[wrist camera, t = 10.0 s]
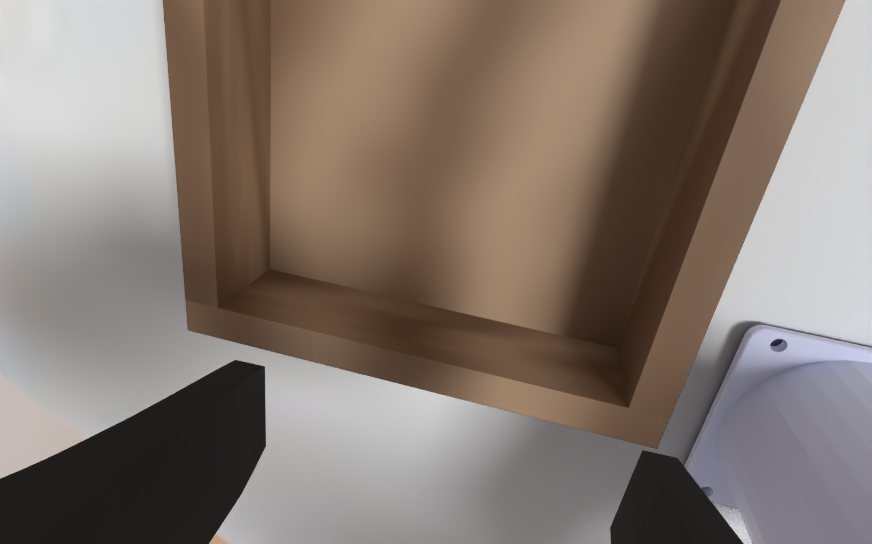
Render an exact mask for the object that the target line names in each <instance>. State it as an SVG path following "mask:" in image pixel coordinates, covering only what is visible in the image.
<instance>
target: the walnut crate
mask: <svg viewBox="0 0 872 544" xmlns="http://www.w3.org/2000/svg"><path fill="white" fill-rule="evenodd" d="M844 3H845V0H163V8H164V22H165V35H166V48H167V61H168V74H169V88H170V101H171V114H172V127H173V140H174V154H175V167H176V180H177V193H178V206H179V219H180V233H181V246H182V259H183V272H184V285H185V299H186V312H187V325H188V330H189V331H193V332H197V333H201V334H205V335H209V336H213V337H217V338H221V339H225V340H229V341H233V342H236V343H240V344H244V345H248V346H252V347H256V348H260V349H264V350H268V351H272V352H276V353H280V354H284V355H288V356H292V357H296V358H300V359H304V360H308V361H312V362H316V363H320V364H324V365H327V366H331V367H335V368H339V369H343V370H347V371H351V372H355V373H359V374H363V375H367V376H371V377H375V378H379V379H383V380H387V381H391V382H395V383H399V384H403V385H407V386H411V387H415V388H418V389H422V390H426V391H430V392H434V393H438V394H442V395H446V396H450V397H454V398H458V399H462V400H466V401H470V402H474V403H478V404H482V405H486V406H490V407H494V408H498V409H502V410H506V411H509V412H513V413H517V414H521V415H525V416H529V417H533V418H537V419H541V420H545V421H549V422H553V423H557V424H561V425H565V426H569V427H573V428H577V429H581V430H585V431H589V432H593V433H597V434H600V435H604V436H608V437H612V438H616V439H620V440H624V441H628V442H632V443H636V444H640V445H644V446H648V447H652V448H656V449H657V448H658V445H659V443H660V440H661V438H662V436H663V433H664V431H665V429H666V426H667V424H668V421H669V419H670V417H671V414H672V412H673V410H674V407H675V405H676V402H677V400H678V398H679V395H680V393H681V390H682V388H683V386H684V383H685V381H686V379H687V376H688V374H689V371H690V369H691V367H692V364H693V362H694V360H695V357H696V355H697V352H698V350H699V348H700V345H701V343H702V341H703V338H704V336H705V333H706V331H707V329H708V326H709V324H710V321H711V319H712V317H713V314H714V312H715V310H716V307H717V305H718V302H719V300H720V298H721V295H722V293H723V291H724V288H725V286H726V283H727V281H728V279H729V276H730V274H731V272H732V269H733V267H734V264H735V262H736V260H737V257H738V255H739V253H740V250H741V248H742V245H743V243H744V241H745V238H746V236H747V233H748V231H749V229H750V226H751V224H752V222H753V219H754V217H755V214H756V212H757V210H758V207H759V205H760V203H761V200H762V198H763V195H764V193H765V191H766V188H767V186H768V184H769V181H770V179H771V176H772V174H773V172H774V169H775V167H776V164H777V162H778V160H779V157H780V155H781V153H782V150H783V148H784V145H785V143H786V141H787V138H788V136H789V134H790V131H791V129H792V126H793V124H794V122H795V119H796V117H797V115H798V112H799V110H800V107H801V105H802V103H803V100H804V98H805V95H806V93H807V91H808V88H809V86H810V84H811V81H812V79H813V76H814V74H815V72H816V69H817V67H818V65H819V62H820V60H821V57H822V55H823V53H824V50H825V48H826V46H827V43H828V41H829V38H830V36H831V34H832V31H833V29H834V27H835V24H836V22H837V19H838V17H839V15H840V12H841V10H842V7H843V5H844Z"/></svg>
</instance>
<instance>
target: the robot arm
mask: <svg viewBox="0 0 872 544" xmlns="http://www.w3.org/2000/svg"><path fill="white" fill-rule="evenodd" d="M776 339H783V341H782V342H781V344H780V345H777V346H770V344H771V343H772V341H774V340H776ZM265 447H266V426H265V367H264V366H260V365H255V364H251V363H246V362H242V361H237V360H235V361H233V362H231V363H229V364H227V365H225V366H223V367H221V368H219V369H217V370H215V371H214V372H212V373H210V374H208V375H206V376H205V377H203V378H201V379H199V380H197V381H196V382H194V383H192V384H190V385H188V386H187V387H185V388H183V389H181V390H180V391H178V392H176V393H174V394H172V395H170V396H169V397H167V398H165V399H163V400H161V401H159V402H158V403H156V404H154V405H152V406H150V407H148V408H147V409H145V410H143V411H141V412H139V413H137V414H135V415H134V416H132V417H130V418H128V419H126V420H124V421H122V422H120V423H118V424H116V425H114V426H112V427H110V428H108V429H106V430H104V431H102V432H100V433H98V434H96V435H94V436H92V437H90V438H88V439H86V440H84V441H82V442H80V443H78V444H76V445H74V446H72V447H70V448H68V449H66V450H64V451H62V452H60V453H58V454H55V455H53V456H51V457H49V458H47V459H45V460H43V461H40V462H38V463H36V464H34V465H31V466H29V467H27V468H25V469H23V470H20V471H18V472H15V473H13V474H10V475H8V476H6V477H3V478H1V479H0V544H209V542H210V541H211V539H212V538H213V536H214V535H215V533H216V532H217V530H218V529H219V527H220V526H221V524H222V523H223V521H224V520H225V518H226V517H227V515H228V514H229V512H230V511H231V509H232V508H233V506H234V505H235V503H236V502H237V500H238V498H239V497H240V495H241V494H242V492H243V490H244V488H245V486H246V484H247V482H248V480H249V478H250V477H251V475H252V473H253V471H254V469H255V467H256V465H257V463H258V461H259V459H260V457H261V455H262V453H263V451H264V449H265ZM702 487H709V488H708V489H701V488H702ZM712 503H715V504H719V505H723V506H727V507H731V508H734V509H738V510H739V512H740V514H741V517H742V519H743V522H744V524H745V527H746V529H747V532H748V534H749V536H750V539H751V541H752V544H872V348H871V347H866V346H861V345H857V344H852V343H847V342H843V341H838V340H833V339H829V338H824V337H819V336H815V335H810V334H805V333H801V332H796V331H791V330H786V329H782V328H777V327H772V326H768V325H756V326H753V327H751V328H750V329H748V330H747V332H746V333H745V335H744V337H743V339H742V341H741V343H740V346H739V348H738V350H737V352H736V354H735V356H734V359H733V361H732V363H731V365H730V367H729V370H728V372H727V374H726V376H725V378H724V380H723V383H722V385H721V387H720V389H719V391H718V394H717V396H716V398H715V400H714V402H713V404H712V407H711V409H710V411H709V413H708V415H707V418H706V420H705V422H704V424H703V426H702V428H701V431H700V433H699V435H698V437H697V439H696V442H695V444H694V446H693V448H692V450H691V452H690V455H689V457H688V459H687V461H686V463H685V466H683V465H682V463H681V462H680V461H679V460H678V458H675V457H670V456H666V455H661V454H657V453H652V452H648V451H643V450H642V453H641V455H640V458H639V460H638V462H637V465H636V467H635V470H634V472H633V474H632V477H631V479H630V482H629V484H628V487H627V489H626V491H625V494H624V496H623V499H622V501H621V503H620V506H619V508H618V511H617V513H616V515H615V518H614V520H613V523H612V525H611V527H610V531H611V544H743V542H742V541H741V540H740V539H739V537H738V536H737V535H736V533H735V532H734V531H733V530H732V528H731V527H730V526H729V524H728V523H727V522H726V520H725V519H724V518H723V517H722V515H721V514H720V513H719V511H718V510H717V509H716V507H715V506H714V505H713V504H712Z"/></svg>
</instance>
